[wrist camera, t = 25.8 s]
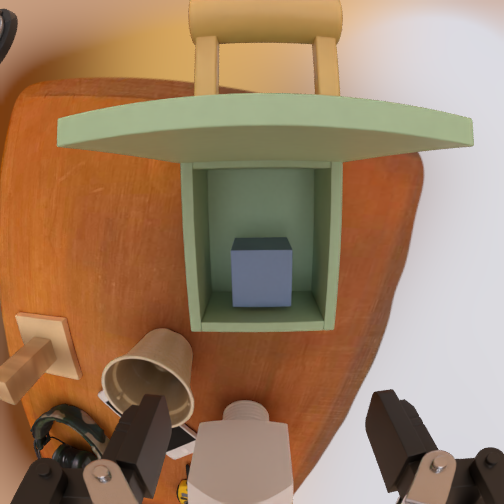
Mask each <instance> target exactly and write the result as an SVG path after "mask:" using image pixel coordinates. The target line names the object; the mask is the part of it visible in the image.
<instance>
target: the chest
mask: <svg viewBox="0 0 504 504" xmlns="http://www.w3.org/2000/svg"><path fill="white" fill-rule="evenodd" d="M180 165H181V198H182V220H183V238H184V254H185V268H186V281H187V293H188V304H189V315H190V325H191V331H196V332H202V331H203V332H287V331H316V330H334V324H335V314H336V303H337V292H338V279H339V264H340V246H341V224H342V180H343V162H329V161H287V160H257V161H216V162H194V163H180ZM265 237H287V239H288V241H289V243H290V245H291V248H292V250H293V256H292V298H291V306H286V307H233V302H232V277H231V248H232V245H233V242H234V239H235V238H265Z"/></svg>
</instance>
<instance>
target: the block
mask: <svg viewBox="0 0 504 504" xmlns="http://www.w3.org/2000/svg"><path fill="white" fill-rule="evenodd" d="M292 256H293V250H292V248H291V245H290V243H289V241H288V239H287V237H265V238H235V239H234V242H233V245H232V248H231V277H232V302H233V307H286V306H291V298H292Z"/></svg>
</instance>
